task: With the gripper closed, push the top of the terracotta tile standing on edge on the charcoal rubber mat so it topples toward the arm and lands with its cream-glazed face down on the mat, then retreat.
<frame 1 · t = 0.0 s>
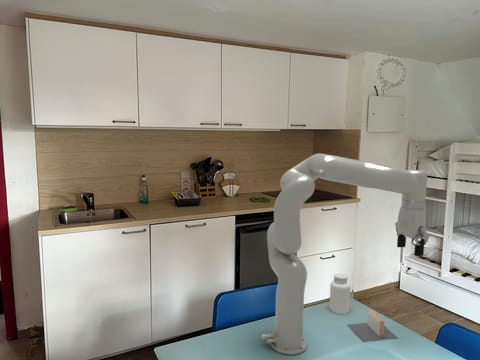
hand: (409, 251, 133), 31 cm above the table, fingers open, 9 cm apart
tile: (375, 330, 137), resting on mat
pill bottle: (339, 310, 154), on the table
mat: (371, 332, 137), on the table
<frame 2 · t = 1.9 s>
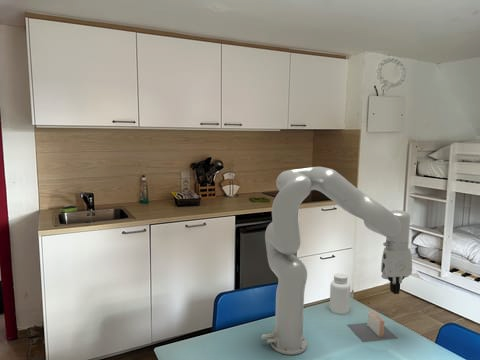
hand: (394, 292, 137), 15 cm above the table, fingers closed
nothing on the table moved.
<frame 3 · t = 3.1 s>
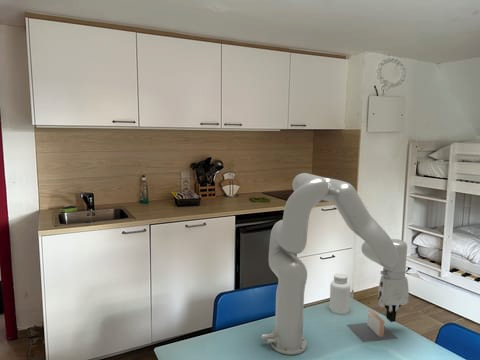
hand: (390, 320, 138), 4 cm above the table, fingers closed
nothing on the table moved.
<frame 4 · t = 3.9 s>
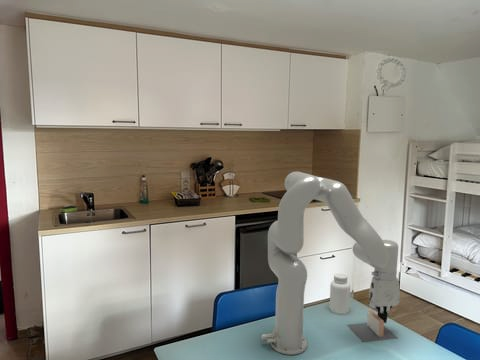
hand: (382, 321, 137), 4 cm above the table, fingers closed
tile: (375, 330, 137), resting on mat, touching gripper
everything else where it was.
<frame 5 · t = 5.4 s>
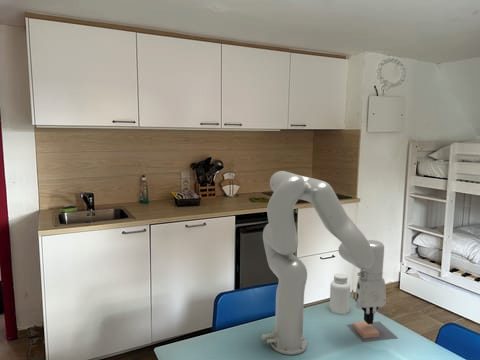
hand: (368, 322, 136), 4 cm above the table, fingers closed
tile: (373, 328, 137), point 1 cm above the table, tilted 90°, touching mat
everything else where it was.
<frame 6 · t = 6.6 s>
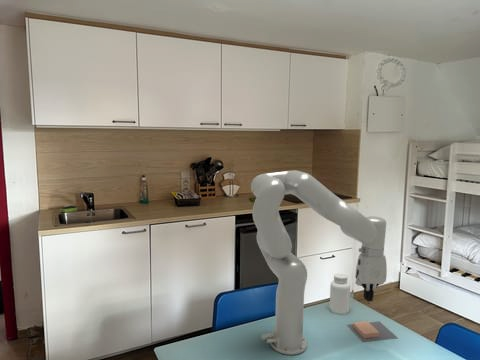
hand: (368, 299, 135), 13 cm above the table, fingers closed
nothing on the table moved.
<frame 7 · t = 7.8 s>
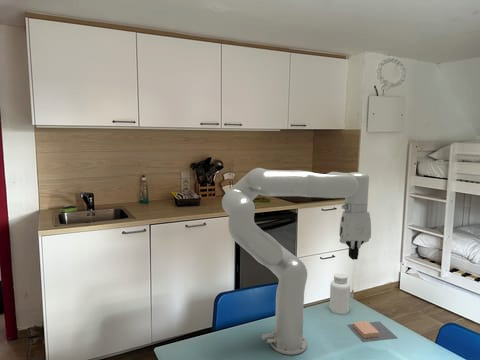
hand: (353, 258, 131), 29 cm above the table, fingers closed
nothing on the table moved.
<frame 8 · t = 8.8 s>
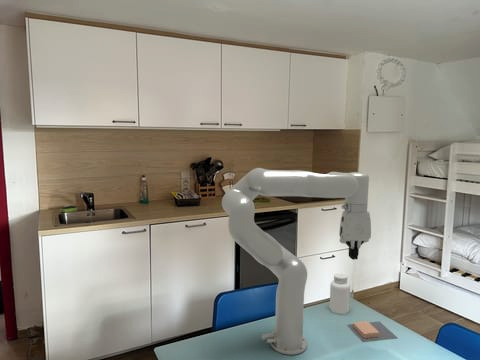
hand: (353, 258, 131), 29 cm above the table, fingers closed
nothing on the table moved.
at the end: tile tilted 90°; tile inside the target area on the mat (0.6 cm from its centre), point 1.4 cm above the mat's base; the gripper is holding nothing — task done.
